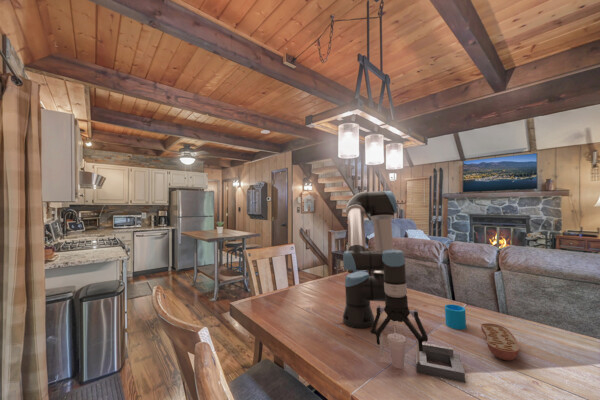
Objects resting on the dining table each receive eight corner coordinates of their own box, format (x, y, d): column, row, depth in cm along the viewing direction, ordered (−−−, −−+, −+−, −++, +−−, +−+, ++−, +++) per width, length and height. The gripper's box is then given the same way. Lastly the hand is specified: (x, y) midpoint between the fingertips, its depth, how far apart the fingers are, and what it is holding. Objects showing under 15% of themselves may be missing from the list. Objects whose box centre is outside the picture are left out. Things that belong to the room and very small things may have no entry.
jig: (416, 372, 87) (415, 357, 87) (416, 355, 97) (415, 341, 97) (465, 382, 81) (464, 366, 81) (459, 363, 91) (459, 348, 91)
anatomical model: (479, 333, 112) (479, 321, 112) (508, 337, 107) (508, 325, 107) (490, 362, 91) (489, 347, 91) (526, 369, 87) (525, 354, 87)
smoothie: (385, 360, 94) (383, 321, 94) (402, 359, 94) (400, 320, 95) (393, 371, 87) (391, 330, 88) (411, 370, 88) (409, 328, 88)
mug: (465, 331, 113) (464, 312, 114) (444, 326, 118) (443, 308, 118) (467, 321, 123) (466, 303, 123) (447, 317, 128) (447, 300, 128)
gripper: (360, 294, 93) (363, 356, 92) (433, 300, 83) (438, 369, 82) (363, 288, 100) (367, 345, 99) (432, 293, 90) (436, 357, 89)
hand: (399, 356), depth 91 cm, fingers open, 11 cm apart
